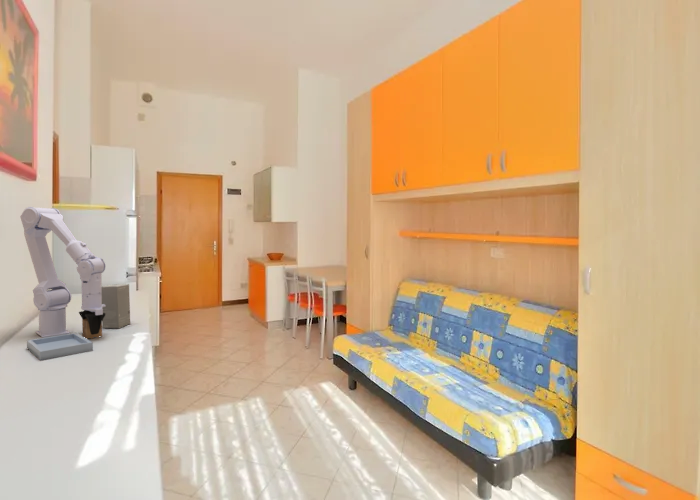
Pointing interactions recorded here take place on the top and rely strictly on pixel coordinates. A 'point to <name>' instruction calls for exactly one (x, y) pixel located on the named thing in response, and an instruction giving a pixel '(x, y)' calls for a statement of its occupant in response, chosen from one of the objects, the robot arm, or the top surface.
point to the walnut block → (87, 332)
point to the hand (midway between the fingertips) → (92, 332)
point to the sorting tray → (59, 346)
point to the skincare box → (116, 305)
